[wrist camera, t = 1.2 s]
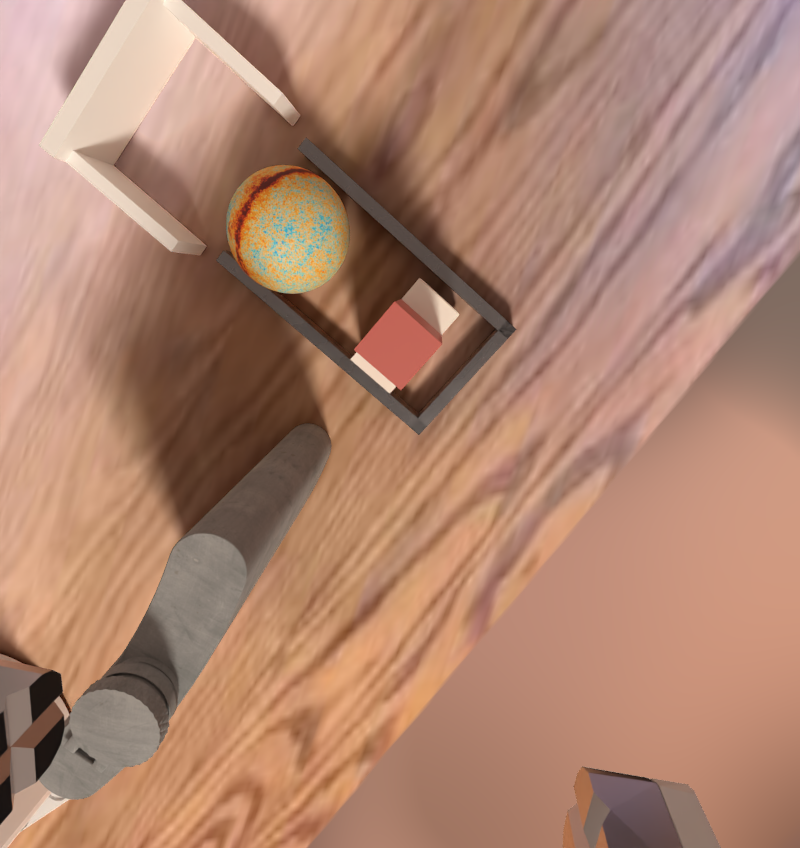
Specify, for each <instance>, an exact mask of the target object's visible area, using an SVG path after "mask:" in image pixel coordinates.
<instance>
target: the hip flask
mask: <svg viewBox="0 0 800 848" xmlns="http://www.w3.org/2000/svg"><path fill="white" fill-rule="evenodd" d="M330 452H331V441H330V438H329V436H328V434H327V433H326V432H325V430H323V429H322V428H321V427H319V426H317V425H314V424H309V423H307V424H301V425H299V426H297V427H295V428H294V429H293V430H292V431H291V432H290V433H289V434H288V435H287V436H286V437H284V438H283V439H282V440H281V441H280V442H279V443H278V444H277V445H276V446H275V447H274V448H273V449H272V450H271V451H270V452H269V453H268V454H267V455H266V456H265V457H264V458H263V459H262V460H261V461H260V462H259V463H258V464H257V465H256V466H255V467H254V468H253V469H252V470H251V471H250V472H249V473H248V474H247V475H246V476H245V477H244V478H243V479H242V480H241V481H240V482H239V483H238V484H237V485H236V486H234V487H233V488H232V489H231V490H230V491H229V492H228V493H227V494H226V495H225V496H224V497H223V498H222V499H221V500H220V501H219V502H218V503H217V504H216V505H215V506H214V507H213V508H212V509H211V510H210V511H209V512H208V513H207V514H206V515H205V516H204V517H203V518H202V519H201V520H200V521H199V522H198V523H197V524H196V525H195V526H194V527H193V528H192V529H191V530H190V531H189V532H188V533H187V534H186V535H185V536H183V537H182V538H181V539H180V540H179V541H178V542H177V544H176V545H175V546H174V547H173V549H172V551H171V554H170V556H169V559H168V562H167V565H166V568H165V570H164V573H163V576H162V578H161V581H160V583H159V586H158V588H157V590H156V593H155V595H154V597H153V599H152V601H151V603H150V605H149V608H148V610H147V612H146V614H145V616H144V617H143V619H142V621H141V623H140V625H139V627H138V629H137V631H136V632H135V634H134V636H133V637H132V639H131V641H130V642H129V644H128V646H127V647H126V649H125V650H124V652H123V653H122V655H121V656H120V657H119V658H118V659H117V661H116V662H115V663H114V664H113V665H112V666H111V668H110V669H109V670H108V671H107V672H106V673H105V675H104V676H103V677H102V678H101V679H100V680H97V681H96V682H95V683H94V684H92V685H90V687H89V689H87V690H86V691H85V692H84V693H83V695H82V696H81V697H80V698H79V699H78V700H77V701H76V703H75V705H74V706H73V707H72V712H71V713H70V715H69V716H68V717H67V719H66V720H65V721H64V725H65V729H64V733H63V738H62V742H61V745H60V747H59V749H58V751H57V753H56V755H55V757H54V759H53V761H52V763H51V765H50V766H49V767H48V769H47V770H46V771H45V772H44V774H43V775H42V776H41V777H40V779H39V781H40V782H41V784H42V785H43V786H44V787H45V788H46V789H48V790H49V791H50V792H52V793H54V794H55V795H57V796H60V797H63V798H67V799H84V798H87V797H89V796H91V795H93V794H94V793H96V792H97V791H98V790H99V789H100V788H102V787H103V786H104V785H105V784H106V783H108V782H109V781H110V780H111V779H112V778H113V777H114V776H116V775H117V774H118V773H119V772H120V771H121V770H122V769H123V768H125V767H133V766H135V765H140V764H141V763H143V762H146V761H147V760H148V759H149V758H151V757H152V756H153V754H154V753H155V752H156V751H157V749H158V747H159V745H160V743H161V742H162V741H163V739H164V737H165V735H166V733H167V731H168V727H169V720H170V718H171V717H172V715H173V714H174V712H175V711H176V708H177V707H178V705H179V704H180V702H181V701H182V700H183V698H184V697H185V695H186V694H187V693H188V691H189V690H190V688H191V687H192V685H193V684H194V682H195V681H196V679H197V678H198V676H199V675H200V673H201V672H202V670H203V669H204V667H205V665H206V664H207V662H208V661H209V659H210V657H211V656H212V654H213V652H214V651H215V649H216V648H217V646H218V644H219V643H220V641H221V639H222V638H223V636H224V635H225V633H226V631H227V630H228V628H229V626H230V625H231V623H232V622H233V620H234V618H235V617H236V615H237V613H238V612H239V610H240V609H241V607H242V605H243V604H244V602H245V600H246V599H247V597H248V595H249V594H250V592H251V591H252V589H253V587H254V586H255V584H256V582H257V581H258V579H259V578H260V576H261V574H262V573H263V571H264V569H265V568H266V566H267V565H268V563H269V561H270V560H271V558H272V556H273V555H274V553H275V552H276V550H277V548H278V547H279V545H280V543H281V542H282V540H283V539H284V537H285V535H286V534H287V532H288V530H289V529H290V527H291V526H292V524H293V522H294V521H295V519H296V517H297V516H298V514H299V513H300V511H301V509H302V508H303V506H304V504H305V503H306V501H307V499H308V498H309V496H310V494H311V492H312V491H313V489H314V487H315V485H316V483H317V481H318V479H319V477H320V475H321V473H322V471H323V469H324V467H325V464H326V462H327V460H328V457H329V455H330Z"/></svg>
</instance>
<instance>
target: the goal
mask: <svg viewBox="0 0 800 848" xmlns="http://www.w3.org/2000/svg"><path fill="white" fill-rule="evenodd" d="M195 38H196V39H197V40H198V41H200V42H201V43H202V44H203V45H204V46H205V47H206V48H207V49H208V50H209V51H210V52H212V53H213V54H214V55H215V56H216V57H217V58H218V59H219V60H220V61H221V62H223V63H224V64H225V65H226V66H227V67H228V68H229V69H230V70H231V71H232V72H234V73H235V74H236V75H237V76H238V77H239V78H240V79H241V80H242V81H243V82H244V83H246V84H247V85H248V86H249V87H250V88H251V89H252V90H253V91H254V92H255V93H257V94H258V95H259V96H260V97H261V98H262V99H263V100H264V101H265V102H266V103H268V104H269V105H270V106H271V107H272V108H273V109H274V110H275V111H276V112H277V113H278V114H280V115H281V116H282V117H283V118H284V119H285V120H286V121H287V122H288V123H289V124H291V125H292V126H294V124H295V123H296V121H297V120H298V119H299V117H300V116H301V115H300V114H299V113H298V111H297V110H296V109H295V108H294V106H293V105H292V104H291V103H290V101H289V100H288V99H287V98H286V97H285V95H284V94H283V93H282V92H281V91H280V90H279V89H278V88H277V87H276V86H274V85H273V84H272V83H271V82H270V81H269V80H268V79H267V78H266V77H265V76H264V75H263V74H261V73H260V72H259V71H258V70H257V69H256V68H255V67H254V66H253V65H252V64H251V63H249V62H248V61H247V60H246V59H245V58H244V57H243V56H242V55H241V54H240V53H239V52H237V51H236V50H235V49H234V48H233V47H232V46H231V45H230V44H229V43H228V42H227V41H225V40H224V39H223V38H222V37H221V36H220V35H219V34H218V33H217V32H216V31H215V30H214V29H212V28H211V27H210V26H209V25H208V24H207V23H206V22H205V21H204V20H203V19H202V18H200V17H199V16H198V15H197V14H196V13H195V12H194V11H193V10H192V9H191V8H190V7H188V6H187V5H186V4H185V3H184V2H183V1H182V0H125V2H124V4H123V5H122V7H121V9H120V10H119V12H118V14H117V16H116V17H115V19H114V21H113V22H112V24H111V26H110V27H109V29H108V31H107V32H106V34H105V36H104V37H103V39H102V41H101V42H100V44H99V46H98V47H97V49H96V51H95V52H94V54H93V56H92V57H91V59H90V61H89V62H88V64H87V66H86V67H85V69H84V71H83V72H82V74H81V76H80V77H79V79H78V81H77V82H76V84H75V86H74V87H73V89H72V91H71V92H70V94H69V96H68V97H67V99H66V101H65V102H64V104H63V106H62V107H61V109H60V111H59V112H58V114H57V116H56V117H55V119H54V121H53V123H52V124H51V126H50V128H49V129H48V131H47V133H46V134H45V136H44V138H43V139H42V141H41V143H40V144H39V146H40V147H41V148H42V149H44V150H45V151H46V152H47V153H48V154H50V155H51V156H52V157H53V158H55V159H58V160H61V161H64V162H66V163H67V164H69V165H70V166H71V167H72V168H73V169H74V170H76V171H77V172H78V173H79V174H80V175H81V176H83V177H84V178H85V179H86V180H87V181H89V182H90V183H91V184H92V185H93V186H94V187H96V188H97V189H98V190H99V191H100V192H101V193H103V194H104V195H105V196H106V197H107V198H108V199H110V200H111V201H112V202H113V203H114V204H116V205H117V206H118V207H119V208H120V209H121V210H123V211H124V212H125V213H126V214H127V215H128V216H130V217H131V218H132V219H133V220H134V221H135V222H137V223H138V224H139V225H140V226H141V227H142V228H144V229H145V230H146V231H147V232H148V233H150V234H151V235H152V236H153V237H154V238H155V239H157V240H158V241H159V242H160V243H161V244H162V245H164V246H165V247H166V248H167V249H168V250H169V251H171V252H176V253H183V254H191V255H199V256H200V255H201V254H202V252H203V251H204V250H205V248H206V247H207V245H205V244H204V243H203V242H202V241H201V240H200V239H198V238H197V237H196V236H195V235H194V234H193V233H191V232H190V231H189V230H188V229H187V228H186V227H185V226H183V225H182V224H181V223H180V222H179V221H178V220H176V219H175V218H174V217H173V216H172V215H171V214H169V213H168V212H167V211H166V210H165V209H164V208H162V207H161V206H160V205H159V204H158V203H157V202H156V201H154V200H153V199H152V198H151V197H150V196H149V195H147V194H146V193H145V192H144V191H143V190H142V189H140V188H139V187H138V186H137V185H136V184H135V183H133V182H132V181H131V180H130V179H129V178H128V177H126V176H125V175H124V174H123V173H122V172H121V171H120V170H118V169H117V168H116V167H115V166H114V164H115V163H116V161H117V160H118V158H119V157H120V155H121V154H122V152H123V150H124V149H125V147H126V146H127V144H128V143H129V141H130V139H131V138H132V136H133V135H134V133H135V132H136V130H137V129H138V127H139V125H140V124H141V122H142V121H143V119H144V118H145V116H146V115H147V113H148V111H149V110H150V108H151V107H152V105H153V104H154V102H155V101H156V99H157V97H158V96H159V94H160V93H161V91H162V90H163V88H164V87H165V85H166V83H167V82H168V80H169V79H170V77H171V76H172V74H173V73H174V71H175V69H176V68H177V66H178V65H179V63H180V62H181V60H182V59H183V57H184V55H185V54H186V52H187V51H188V49H189V48H190V46H191V44H192V43H193V41H194V40H195Z"/></svg>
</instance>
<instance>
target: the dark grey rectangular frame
mask: <svg viewBox="0 0 800 848" xmlns="http://www.w3.org/2000/svg"><path fill="white" fill-rule="evenodd" d="M298 149H299V150H300V151H301V152H302V153H303V154H304V155H305V156H306V157H307V158H308V159H309V160H310V161H311V162H312V163H314V164H315V165H316V166H317V167H318V168H319V169H320V170H321V171H322V172H323V173H325V174H326V175H327V176H328V177H329V178H330V179H331V180H332V181H333V182H334V183H336V184H337V185H338V186H339V187H340V188H341V189H342V190H343V191H344V192H345V193H347V194H348V195H349V196H350V197H351V198H352V199H353V200H354V201H355V202H357V203H358V204H359V205H360V206H361V207H362V208H363V209H364V210H365V211H366V212H368V213H369V214H370V215H371V216H372V217H373V218H374V219H375V220H376V221H377V222H379V223H380V224H381V225H382V226H383V227H384V228H385V229H386V230H387V231H388V232H390V233H391V234H392V235H393V236H394V237H395V238H396V239H397V240H398V241H399V242H401V243H402V244H403V245H404V246H405V247H406V248H407V249H408V250H409V251H411V252H412V253H413V254H414V255H415V256H416V257H417V258H418V259H419V260H420V261H422V262H423V263H424V264H425V265H426V266H427V267H428V268H429V269H430V270H431V271H433V272H434V273H435V274H436V275H437V276H438V277H439V278H440V279H441V280H442V281H444V282H445V283H446V284H447V285H448V286H449V287H450V288H451V289H452V290H453V291H455V292H456V293H457V294H458V295H459V296H460V297H461V298H462V299H463V300H465V301H466V302H467V303H468V304H469V305H470V306H471V307H472V308H473V309H474V310H476V311H477V312H478V313H479V314H480V315H481V316H482V317H483V318H484V319H485V320H487V321H488V322H489V323H490V324H491V325H492V326H493V327H494V328H495V330H494V331H493V332H492V333H491V334H490V335H489V337H488V338H487V339H486V340H485V341H484V342H483V343H482V344H481V345H480V346H479V348H478V349H477V350H476V351H475V352H474V353H473V354H472V355H471V356H470V357H469V359H468V360H467V361H466V362H465V363H464V364H463V365H462V366H461V367H460V368H459V370H458V371H457V372H456V373H455V374H454V375H453V376H452V377H451V378H450V379H449V380H448V382H447V383H446V384H445V385H444V386H443V387H442V388H441V389H440V390H439V391H438V393H437V394H436V395H435V396H434V397H433V398H432V399H431V400H430V401H429V402H428V404H427V405H426V406H425V407H424V408H423V409H422V410H421V411H420V412H419V413H418V412H417V411H416V410H414V409H413V408H412V407H411V406H410V405H409V404H407V403H406V402H405V401H404V400H403V399H402V398H401V397H399V396H398V395H397V394H396V393H395V392H394V391H392V392H391V393H388V392H387V391H386V390H385V389H384V388H383V387H382V386H380V385H379V384H378V383H377V382H376V381H375V380H373V379H372V378H371V377H370V376H369V375H368V374H366V373H365V372H364V371H363V370H362V369H361V368H360V367H358V366H357V365H356V364H355V363H354V362H353V361H351V360H350V359H351V358H352V357H353V356H352V355H351V354H350V353H349V352H347V351H346V350H345V349H344V348H343V347H342V346H340V345H339V344H338V343H337V342H336V341H335V340H334V339H332V338H331V337H330V336H329V335H328V334H327V333H325V332H324V331H323V330H322V329H321V328H320V327H319V326H317V325H316V324H315V323H314V322H313V321H312V320H310V319H309V318H308V317H307V316H306V315H305V314H303V313H302V312H301V311H300V310H299V309H298V308H297V307H295V306H294V305H293V304H292V303H291V302H290V301H288V300H287V299H286V298H285V297H284V296H283V295H282V294H280V293H279V292H276V291H273V290H270V289H268V288H265V287H263V286H262V285H260V284H258V283H257V282H255V281H254V280H253V279H251V278H250V277H249V276H248V275H247V274H246V273H245V272H244V271H243V270H242V268H241V267H240V266H239V264H238V263H237V261H236V260H235V258H234V256H233V254H232V252H230V251H223V252H222V253H221V255H220V256H219V257H218V259H217V260H216V261H217V262H218V263H220V264H221V265H222V266H223V267H224V268H225V269H227V270H228V271H229V272H230V273H231V274H232V275H234V276H235V277H236V278H237V279H238V280H239V281H241V282H242V283H243V284H244V285H245V286H246V287H248V288H249V289H250V290H251V291H252V292H253V293H255V294H256V295H257V296H258V297H259V298H260V299H261V300H263V301H264V302H265V303H266V304H267V305H268V306H270V307H271V308H272V309H273V310H274V311H275V312H277V313H278V314H279V315H280V316H281V317H282V318H284V319H285V320H286V321H287V322H288V323H289V324H291V325H292V326H293V327H294V328H295V329H296V330H298V331H299V332H300V333H301V334H302V335H303V336H305V337H306V338H307V339H308V340H309V341H310V342H311V343H313V344H314V345H315V346H316V347H317V348H318V349H320V350H321V351H322V352H323V353H324V354H325V355H327V356H328V357H329V358H330V359H331V360H332V361H334V362H335V363H336V364H337V365H338V366H339V367H341V368H342V369H343V370H344V371H345V372H346V373H348V374H349V375H350V376H351V377H352V378H353V379H355V380H356V381H357V382H358V383H359V384H360V385H361V386H363V387H364V388H365V389H366V390H367V391H368V392H370V393H371V394H372V395H373V396H374V397H375V398H377V399H378V400H379V401H380V402H381V403H382V404H384V405H385V406H386V407H387V408H388V409H389V410H391V411H392V412H393V413H394V414H395V415H396V416H398V417H399V418H400V419H401V420H402V421H403V422H405V423H406V424H407V425H408V426H409V427H410V428H411V429H413V430H414V431H415V432H416V433H417V434H418V435H419V434H420V433H421V432H422V431H423V430H424V429H425V428H426V427H427V426H428V425H429V424H430V422H431V421H432V420H433V419H434V418H435V417H436V416H437V415H438V414H439V413H440V412H441V410H442V409H443V408H444V407H445V406H446V405H447V404H448V403H449V402H450V401H451V400H452V399H453V397H454V396H455V395H456V394H457V393H458V392H459V391H460V390H461V389H462V388H463V387H464V386H465V384H466V383H467V382H468V381H469V380H470V379H471V378H472V377H473V376H474V375H475V374H476V373H477V371H478V370H479V369H480V368H481V367H482V366H483V365H484V364H485V363H486V362H487V361H488V359H489V358H490V357H491V356H492V355H493V354H494V353H495V352H496V351H497V350H498V349H499V348H500V346H501V345H502V344H503V343H504V342H505V341H506V340H507V339H508V338H509V337H510V336H511V335H512V333H513V332H514V331H515V330H516V329H515V328H514V327H513V326H512V325H511V324H510V323H509V322H508V321H507V320H506V319H504V318H503V317H502V316H501V315H500V314H499V313H498V312H497V311H496V310H495V309H494V308H492V307H491V306H490V305H489V304H488V303H487V302H486V301H485V300H484V299H483V298H481V297H480V296H479V295H478V294H477V293H476V292H475V291H474V290H473V289H472V288H471V287H469V286H468V285H467V284H466V283H465V282H464V281H463V280H462V279H461V278H460V277H458V276H457V275H456V274H455V273H454V272H453V271H452V270H451V269H450V268H449V267H447V266H446V265H445V264H444V263H443V262H442V261H441V260H440V259H439V258H438V257H437V256H435V255H434V254H433V253H432V252H431V251H430V250H429V249H428V248H427V247H426V246H424V245H423V244H422V243H421V242H420V241H419V240H418V239H417V238H416V237H415V236H414V235H412V234H411V233H410V232H409V231H408V230H407V229H406V228H405V227H404V226H403V225H401V224H400V223H399V222H398V221H397V220H396V219H395V218H394V217H393V216H392V215H391V214H389V213H388V212H387V211H386V210H385V209H384V208H383V207H382V206H381V205H380V204H378V203H377V202H376V201H375V200H374V199H373V198H372V197H371V196H370V195H369V194H367V193H366V192H365V191H364V190H363V189H362V188H361V187H360V186H359V185H358V184H357V183H355V182H354V181H353V180H352V179H351V178H350V177H349V176H348V175H347V174H346V173H344V172H343V171H342V170H341V169H340V168H339V167H338V166H337V165H336V164H335V163H334V162H332V161H331V160H330V159H329V158H328V157H327V156H326V155H325V154H324V153H323V152H321V151H320V150H319V149H318V148H317V147H316V146H315V145H314V144H313V143H312V142H310V141H309V140H308V139H307V138H305V139H304V141H303V142H302V143H301V145H300V146H299V148H298Z"/></svg>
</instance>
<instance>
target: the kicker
mask: <svg viewBox="0 0 800 848" xmlns="http://www.w3.org/2000/svg"><path fill="white" fill-rule="evenodd" d="M459 315H460V314H459V313H458V312H457V310H456V309H454V308H453V307H452V306H451V305H450V304H449V303H448V302H447V301H446V300H444V299H443V298H442V297H441V296H440V295H439V294H438V293H437V292H436V291H434V290H433V289H432V288H431V287H430V286H429V285H428V284H427V283H426V282H424V281H423V280H422V279H420V278H419V279H418V280H417V281H416V282H415V284H414V285H413V286H412V287H411V288H410V290H409V291H408V292H407V293H406V294H405V295H404V297H403V298H402V299H400V300H397V301H394V303H393V304H392V305H391V306H390V307H389V309H388V310H387V311H386V312H385V313H384V314H383V316H382V317H381V318H380V319H379V320H378V322H377V323H376V324H375V325H374V326H373V328H372V329H371V330H370V331H369V332H368V333H367V335H366V336H365V337H364V338H363V339H362V341H361V342H360V343H359V344H358V345H357V347H356V348H355V349H354V350H355V351H356V354H355V355H354V356H353V357H352V358H351V359H350V360H351V361H353V362H354V363H355V364H356V365H357V366H358V367H360V368H361V369H362V370H363V371H364V372H365V373H366V374H368V375H369V376H370V377H371V378H372V379H373V380H375V381H376V382H377V383H378V384H379V385H380V386H382V387H383V388H384V389H385V390H386V391H387V392H388V393H391V392H392V391H393V389H394V388H395V387H397V388H398V389H400V390H402V389H403V388H404V386H405V385H406V384H407V383H408V382H409V381H410V380H411V379H412V377H413V376H414V375H415V374H416V373H417V372H418V371H419V370H420V368H421V367H422V366H423V365H424V364H425V363H426V362H427V361H428V359H429V358H430V357H431V356H432V355H433V354H434V353H435V352H436V350H437V349H438V348H439V347H440V346H441V345H442V334H443V333H444V332H445V331H446V329H447V328H448V327H449V326H450V325H451V324H452V323H453V321H454V320H455V319H456V318H457V317H458V316H459Z"/></svg>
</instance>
